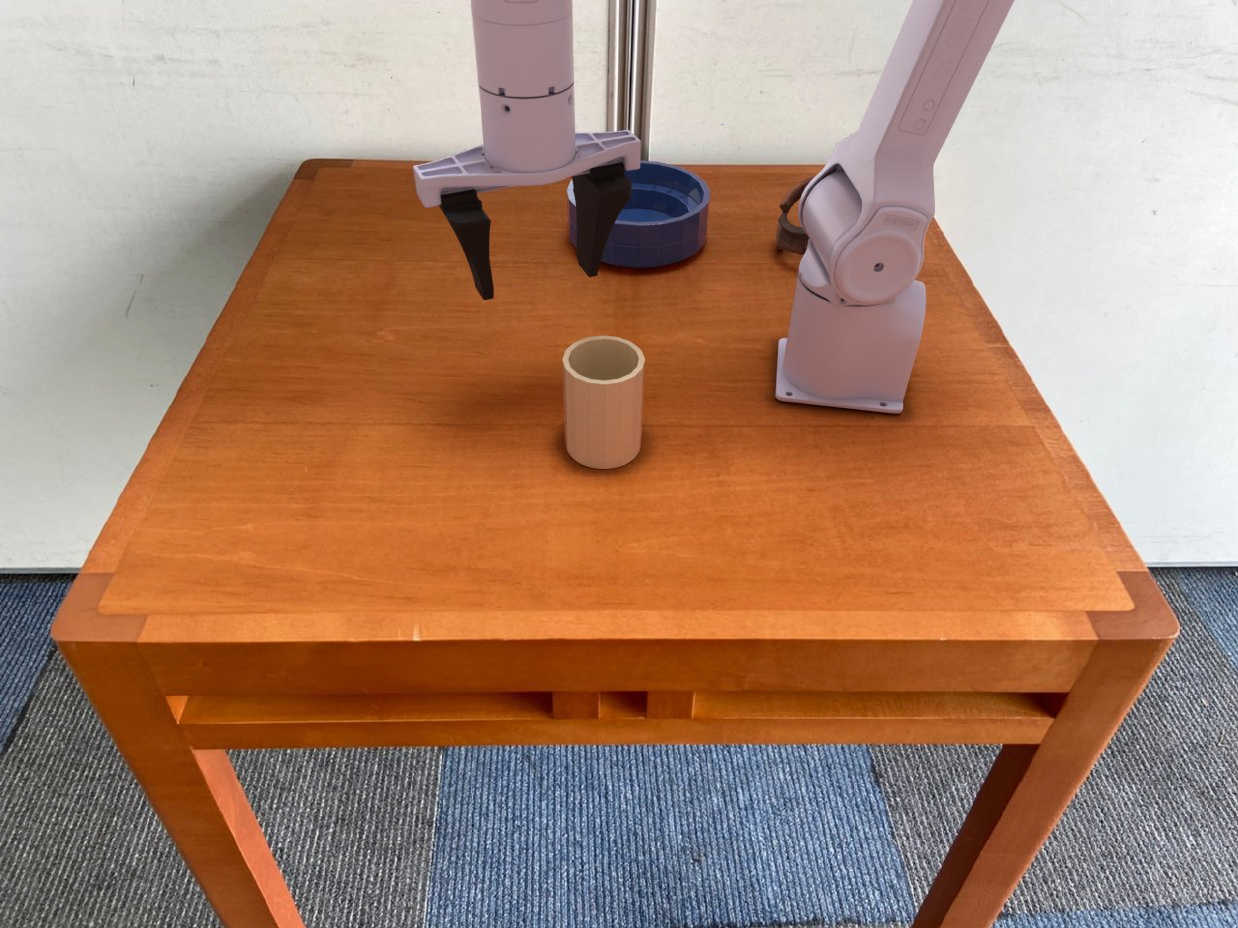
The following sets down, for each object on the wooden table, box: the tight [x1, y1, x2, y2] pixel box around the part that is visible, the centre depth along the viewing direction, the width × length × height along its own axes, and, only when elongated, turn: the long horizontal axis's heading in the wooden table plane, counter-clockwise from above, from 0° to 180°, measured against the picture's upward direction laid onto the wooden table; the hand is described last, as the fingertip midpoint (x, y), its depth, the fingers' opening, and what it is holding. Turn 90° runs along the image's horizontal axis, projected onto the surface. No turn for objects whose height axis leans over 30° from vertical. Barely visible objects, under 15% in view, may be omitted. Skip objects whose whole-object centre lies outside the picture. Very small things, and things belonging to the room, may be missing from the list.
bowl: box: [566, 159, 712, 269], centre depth 85 cm, size 13×13×5 cm
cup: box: [561, 335, 646, 470], centre depth 62 cm, size 5×5×8 cm
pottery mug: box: [775, 169, 822, 256], centre depth 85 cm, size 12×10×8 cm
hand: (537, 281), depth 63 cm, fingers open, 7 cm apart
